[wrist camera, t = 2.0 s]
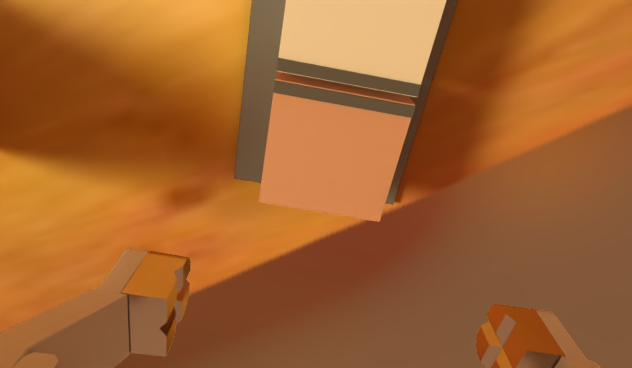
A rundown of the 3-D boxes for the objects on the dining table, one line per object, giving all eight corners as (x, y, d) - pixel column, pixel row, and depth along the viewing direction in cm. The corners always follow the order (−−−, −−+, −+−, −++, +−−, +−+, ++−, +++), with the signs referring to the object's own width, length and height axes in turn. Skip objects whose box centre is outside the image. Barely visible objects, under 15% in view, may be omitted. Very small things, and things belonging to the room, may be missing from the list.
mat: (284, -311, 15) (283, -319, 15) (531, -247, 16) (538, -253, 16) (235, 174, 25) (234, 178, 24) (391, 200, 26) (393, 204, 25)
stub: (284, 56, 21) (275, 79, 16) (395, 77, 21) (415, 105, 17) (270, 159, 24) (258, 203, 19) (368, 176, 24) (379, 223, 20)
